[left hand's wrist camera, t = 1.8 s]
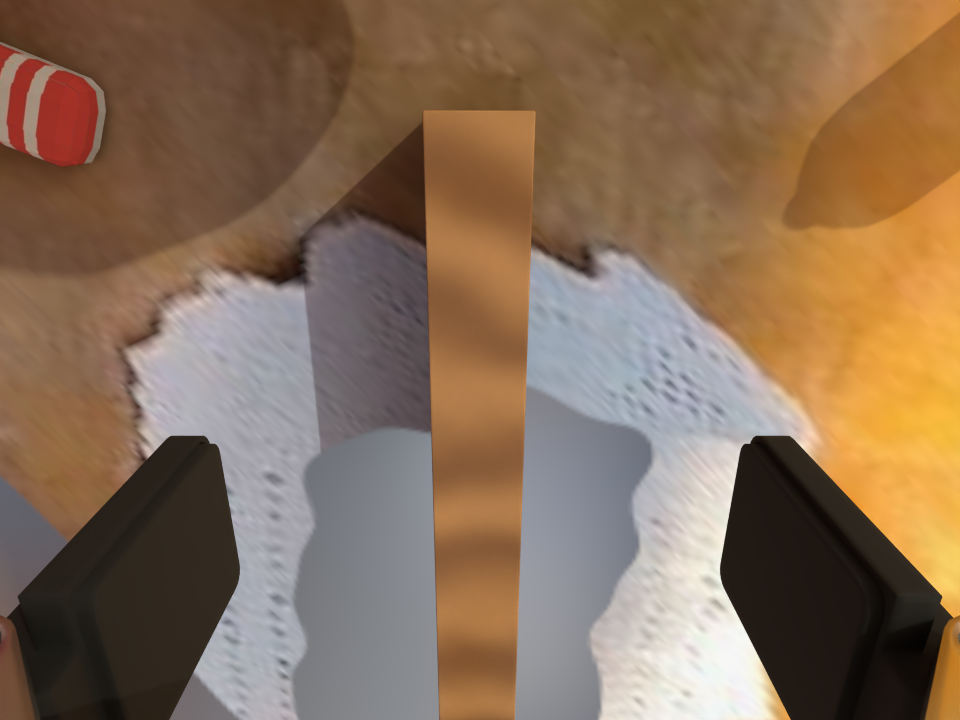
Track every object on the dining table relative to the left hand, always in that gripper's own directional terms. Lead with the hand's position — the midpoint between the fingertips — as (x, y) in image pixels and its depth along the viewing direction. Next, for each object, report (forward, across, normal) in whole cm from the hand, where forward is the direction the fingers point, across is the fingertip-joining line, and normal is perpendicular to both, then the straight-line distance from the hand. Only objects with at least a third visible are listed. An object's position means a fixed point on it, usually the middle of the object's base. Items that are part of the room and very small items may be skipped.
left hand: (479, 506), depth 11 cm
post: (+27, 0, -25) cm, 37 cm away
